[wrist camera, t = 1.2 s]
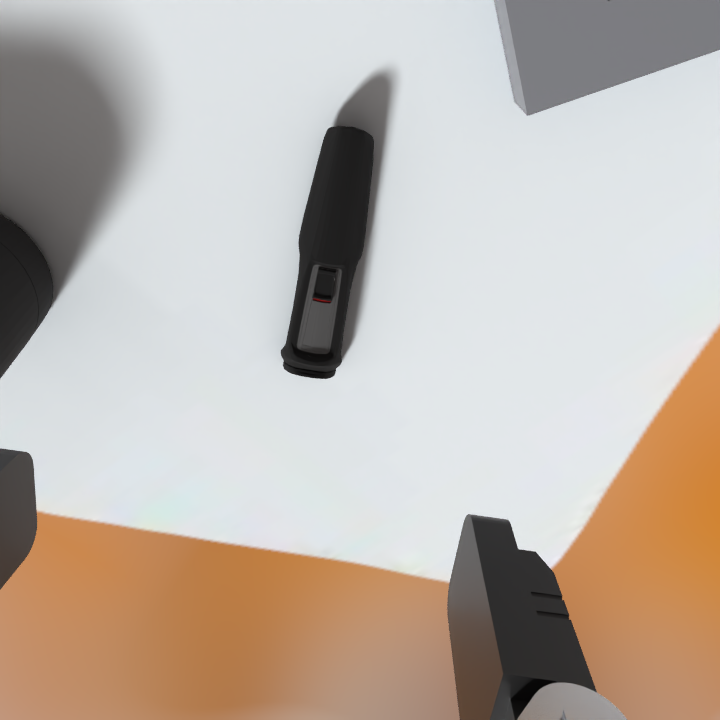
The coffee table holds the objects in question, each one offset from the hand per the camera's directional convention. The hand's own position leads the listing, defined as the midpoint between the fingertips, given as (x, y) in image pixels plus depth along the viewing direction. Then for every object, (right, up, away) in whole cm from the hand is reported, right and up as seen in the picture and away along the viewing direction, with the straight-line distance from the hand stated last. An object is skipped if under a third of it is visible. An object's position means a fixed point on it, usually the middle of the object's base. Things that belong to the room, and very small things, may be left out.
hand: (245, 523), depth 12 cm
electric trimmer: (0, +9, +25) cm, 26 cm away
